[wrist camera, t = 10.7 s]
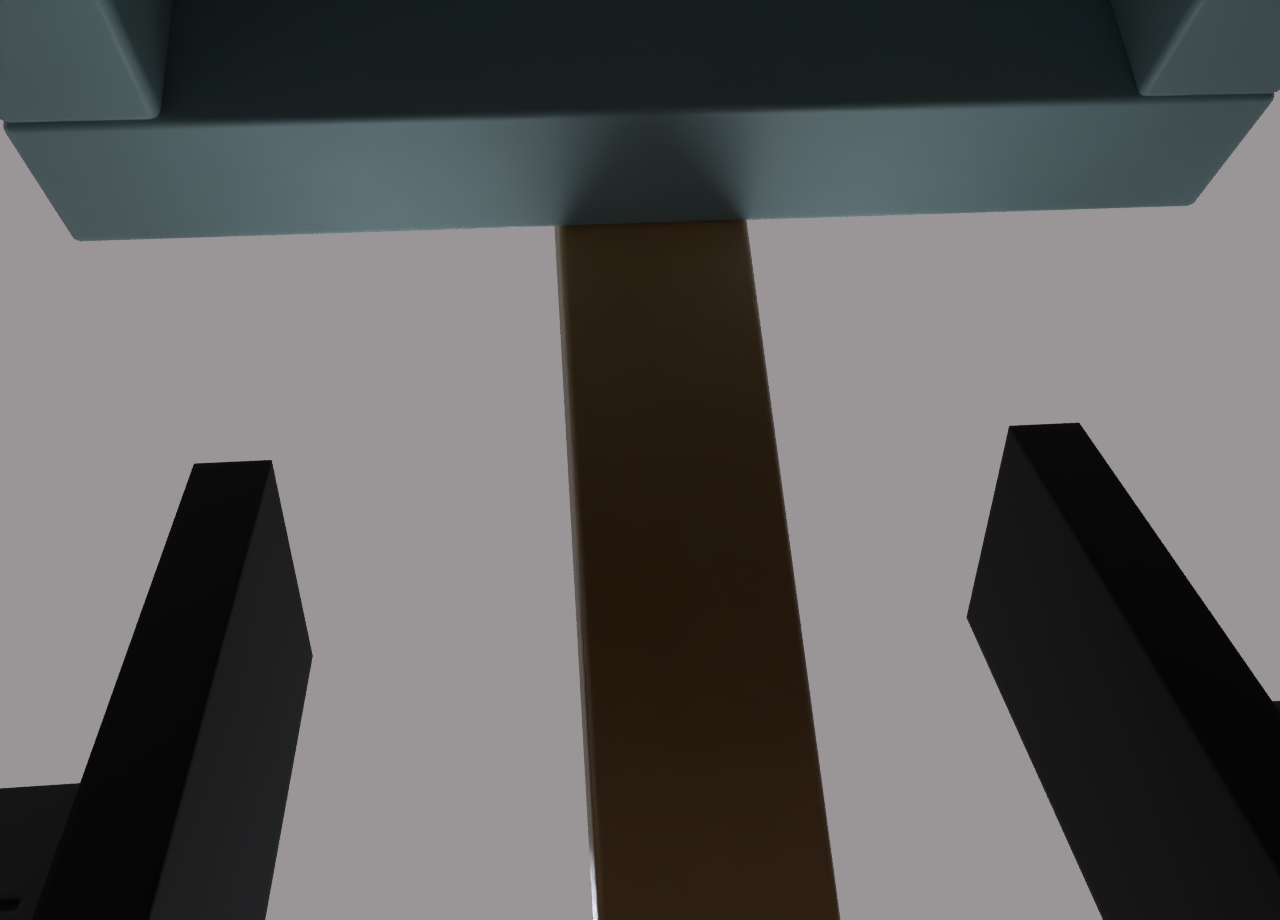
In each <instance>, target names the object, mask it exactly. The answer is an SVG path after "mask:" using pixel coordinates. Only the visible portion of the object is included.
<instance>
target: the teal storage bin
mask: <svg viewBox="0 0 1280 920" xmlns="http://www.w3.org/2000/svg"><path fill="white" fill-rule="evenodd" d="M1279 90H1280V0H0V119H1V120H3V121H4V130H5V132H6V134H7V136H8V137H9V139H10V140H11V142H12V143H13V145H14V146H15V148H16V149H17V151H18V152H19V154H20V156H21V157H22V159H23V160H24V162H25V163H26V165H27V167H28V168H29V170H30V171H31V173H32V174H33V176H34V177H35V179H36V181H37V182H38V184H39V185H40V187H41V188H42V190H43V191H44V193H45V195H46V196H47V198H48V199H49V201H50V202H51V204H52V205H53V207H54V209H55V210H56V212H57V213H58V215H59V216H60V218H61V219H62V221H63V223H64V224H65V226H66V227H67V229H68V230H69V232H70V233H71V235H72V236H73V238H74V239H76V240H79V241H97V240H98V241H100V240H131V239H162V238H192V237H221V236H222V237H225V236H255V235H287V234H318V233H346V232H347V233H350V232H380V231H410V230H411V231H412V230H442V229H473V228H505V227H536V226H568V225H600V224H631V223H662V222H693V221H724V220H755V219H786V218H816V217H849V216H881V215H911V214H943V213H974V212H1006V211H1035V210H1036V211H1037V210H1068V209H1096V208H1097V209H1098V208H1130V207H1162V206H1187V205H1190V204H1192V203H1194V202H1195V200H1196V199H1197V198H1198V197H1199V195H1200V194H1201V193H1202V191H1203V190H1204V189H1205V188H1206V186H1207V185H1208V184H1209V182H1210V181H1211V180H1212V179H1213V177H1214V176H1215V174H1216V173H1217V172H1218V170H1219V169H1220V168H1221V167H1222V165H1223V164H1224V163H1225V162H1226V160H1227V159H1228V158H1229V156H1230V155H1231V154H1232V153H1233V151H1234V150H1235V149H1236V147H1237V146H1238V145H1239V143H1240V142H1241V141H1242V139H1243V138H1244V137H1245V135H1246V134H1247V133H1248V132H1249V130H1250V129H1251V128H1252V127H1253V125H1254V124H1255V123H1256V121H1257V120H1258V119H1259V117H1260V116H1261V115H1262V114H1263V112H1264V111H1265V110H1266V108H1267V107H1268V106H1269V104H1270V103H1271V102H1272V101H1273V98H1274V92H1277V91H1279Z"/></svg>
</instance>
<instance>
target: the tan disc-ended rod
mask: <svg viewBox="0 0 1280 920" xmlns="http://www.w3.org/2000/svg"><path fill="white" fill-rule="evenodd" d="M555 242H556V261H557V278H558V296H559V314H560V330H561V331H560V332H561V349H562V366H563V386H564V404H565V422H566V440H567V457H568V476H569V492H570V512H571V527H572V528H571V530H572V547H573V566H574V582H575V601H576V620H577V637H578V656H579V673H580V691H581V709H582V727H583V744H584V763H585V781H586V798H587V817H588V833H589V851H590V852H589V853H590V871H591V888H592V905H593V906H592V907H593V920H840V915H839V907H838V899H837V892H836V884H835V877H834V869H833V862H832V854H831V847H830V840H829V832H828V825H827V818H826V810H825V802H824V796H823V787H822V780H821V774H820V765H819V758H818V750H817V743H816V735H815V729H814V721H813V713H812V706H811V698H810V691H809V683H808V676H807V669H806V661H805V654H804V647H803V639H802V632H801V624H800V617H799V610H798V601H797V594H796V586H795V580H794V572H793V564H792V557H791V550H790V542H789V534H788V527H787V519H786V512H785V505H784V497H783V490H782V482H781V475H780V468H779V460H778V453H777V445H776V438H775V430H774V423H773V415H772V408H771V401H770V393H769V386H768V378H767V371H766V363H765V356H764V349H763V341H762V333H761V326H760V319H759V311H758V304H757V296H756V289H755V282H754V274H753V268H752V267H753V266H752V259H751V252H750V244H749V237H748V229H747V222H746V220H724V221H693V222H662V223H631V224H600V225H568V226H555Z"/></svg>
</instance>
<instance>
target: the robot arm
mask: <svg viewBox="0 0 1280 920" xmlns="http://www.w3.org/2000/svg"><path fill="white" fill-rule="evenodd" d="M967 619H968V622H969V624H970V626H971V628H972V630H973V633H974V635H975V637H976V639H977V641H978V644H979V646H980V648H981V651H982V653H983V655H984V657H985V659H986V661H987V664H988V666H989V668H990V670H991V673H992V675H993V677H994V679H995V682H996V684H997V686H998V688H999V690H1000V693H1001V695H1002V697H1003V699H1004V701H1005V704H1006V706H1007V708H1008V710H1009V713H1010V715H1011V717H1012V719H1013V721H1014V724H1015V726H1016V728H1017V730H1018V732H1019V735H1020V737H1021V739H1022V741H1023V744H1024V746H1025V748H1026V750H1027V752H1028V755H1029V757H1030V759H1031V761H1032V763H1033V766H1034V768H1035V770H1036V772H1037V774H1038V777H1039V779H1040V781H1041V783H1042V785H1043V788H1044V790H1045V792H1046V794H1047V797H1048V798H1049V801H1050V803H1051V805H1052V808H1053V810H1054V812H1055V814H1056V817H1057V819H1058V821H1059V823H1060V826H1061V827H1062V830H1063V832H1064V834H1065V837H1066V839H1067V841H1068V843H1069V845H1070V847H1071V850H1072V852H1073V854H1074V856H1075V858H1076V861H1077V863H1078V865H1079V868H1080V870H1081V872H1082V874H1083V876H1084V878H1085V881H1086V883H1087V885H1088V888H1089V890H1090V892H1091V894H1092V896H1093V898H1094V901H1095V903H1096V905H1097V907H1098V910H1099V912H1100V914H1101V916H1102V919H1103V920H1280V701H1272V700H1271V699H1270V697H1269V696H1268V695H1267V693H1266V692H1265V690H1264V689H1263V687H1262V686H1261V684H1260V683H1259V682H1258V680H1257V679H1256V677H1255V676H1254V674H1253V673H1252V671H1251V670H1250V669H1249V667H1248V666H1247V664H1246V663H1245V661H1244V660H1243V659H1242V657H1241V656H1240V654H1239V653H1238V651H1237V650H1236V648H1235V647H1234V645H1233V644H1232V643H1231V641H1230V640H1229V638H1228V637H1227V635H1226V634H1225V632H1224V631H1223V630H1222V628H1221V627H1220V625H1219V624H1218V622H1217V621H1216V620H1215V618H1214V617H1213V615H1212V614H1211V612H1210V611H1209V610H1208V608H1207V607H1206V605H1205V604H1204V602H1203V601H1202V599H1201V598H1200V596H1199V595H1198V594H1197V592H1196V591H1195V589H1194V588H1193V586H1192V585H1191V584H1190V582H1189V581H1188V579H1187V578H1186V576H1185V575H1184V573H1183V572H1182V570H1181V569H1180V568H1179V566H1178V565H1177V564H1176V562H1175V560H1174V559H1173V558H1172V556H1171V555H1170V553H1169V552H1168V551H1167V549H1166V547H1165V546H1164V544H1163V543H1162V542H1161V540H1160V539H1159V537H1158V536H1157V534H1156V533H1155V531H1154V530H1153V529H1152V527H1151V526H1150V524H1149V523H1148V521H1147V520H1146V519H1145V517H1144V516H1143V514H1142V513H1141V511H1140V510H1139V509H1138V507H1137V506H1136V504H1135V503H1134V501H1133V500H1132V498H1131V497H1130V496H1129V494H1128V493H1127V491H1126V490H1125V488H1124V487H1123V485H1122V484H1121V482H1120V481H1119V480H1118V478H1117V477H1116V475H1115V474H1114V472H1113V471H1112V469H1111V468H1110V467H1109V465H1108V464H1107V462H1106V461H1105V459H1104V458H1103V456H1102V455H1101V454H1100V452H1099V451H1098V449H1097V448H1096V446H1095V445H1094V444H1093V442H1092V441H1091V439H1090V438H1089V436H1088V435H1087V433H1086V432H1085V431H1084V429H1083V428H1082V426H1081V425H1080V423H1062V424H1041V425H1019V426H1009V429H1008V434H1007V439H1006V443H1005V448H1004V452H1003V456H1002V461H1001V466H1000V470H999V474H998V479H997V483H996V488H995V492H994V497H993V502H992V506H991V510H990V515H989V519H988V524H987V528H986V533H985V537H984V542H983V546H982V551H981V555H980V560H979V564H978V568H977V573H976V578H975V582H974V586H973V591H972V596H971V600H970V605H969V609H968V613H967ZM312 657H313V655H312V651H311V646H310V641H309V636H308V632H307V627H306V622H305V617H304V613H303V608H302V603H301V598H300V593H299V589H298V584H297V579H296V574H295V570H294V565H293V560H292V556H291V551H290V546H289V541H288V536H287V531H286V527H285V522H284V517H283V512H282V507H281V503H280V498H279V493H278V488H277V484H276V480H275V475H274V469H273V464H272V461H271V460H263V461H242V462H221V463H198V464H194V465H193V468H192V471H191V474H190V476H189V479H188V482H187V485H186V488H185V491H184V493H183V496H182V499H181V502H180V504H179V507H178V510H177V513H176V516H175V519H174V521H173V525H172V527H171V530H170V533H169V536H168V538H167V541H166V544H165V547H164V550H163V552H162V555H161V558H160V561H159V563H158V566H157V569H156V572H155V575H154V578H153V580H152V583H151V586H150V589H149V592H148V594H147V597H146V600H145V603H144V606H143V608H142V611H141V614H140V617H139V620H138V623H137V625H136V628H135V631H134V634H133V637H132V639H131V642H130V645H129V648H128V650H127V653H126V656H125V659H124V662H123V665H122V667H121V670H120V673H119V676H118V679H117V681H116V684H115V687H114V690H113V693H112V695H111V698H110V701H109V704H108V707H107V710H106V713H105V715H104V718H103V721H102V723H101V726H100V729H99V732H98V735H97V737H96V740H95V743H94V746H93V749H92V752H91V754H90V757H89V760H88V763H87V766H86V769H85V772H84V774H83V777H82V780H81V782H80V783H78V784H63V785H47V786H31V787H16V788H2V789H0V920H265V917H266V912H267V906H268V901H269V895H270V890H271V884H272V879H273V873H274V867H275V862H276V856H277V851H278V845H279V840H280V834H281V829H282V823H283V817H284V812H285V806H286V801H287V795H288V790H289V784H290V779H291V773H292V768H293V762H294V756H295V751H296V745H297V740H298V734H299V728H300V723H301V717H302V712H303V707H304V701H305V695H306V690H307V684H308V679H309V673H310V667H311V662H312Z"/></svg>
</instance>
